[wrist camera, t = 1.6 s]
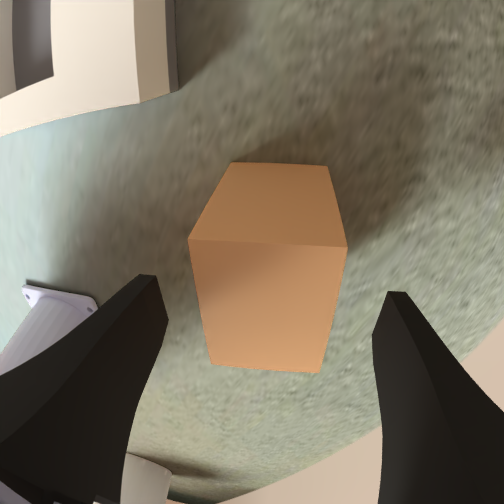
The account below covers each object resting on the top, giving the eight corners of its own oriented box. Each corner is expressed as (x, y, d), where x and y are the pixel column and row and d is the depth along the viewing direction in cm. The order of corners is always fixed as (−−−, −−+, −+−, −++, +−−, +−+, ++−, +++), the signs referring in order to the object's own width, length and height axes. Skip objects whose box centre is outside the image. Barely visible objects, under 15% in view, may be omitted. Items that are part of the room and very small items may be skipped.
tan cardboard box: (316, 270, 15) (319, 372, 10) (237, 266, 16) (211, 364, 11) (327, 165, 12) (348, 247, 7) (231, 162, 13) (187, 238, 8)
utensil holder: (101, 441, 46) (76, 512, 32) (172, 465, 46) (152, 542, 32) (117, 459, 55) (98, 518, 41) (176, 478, 55) (161, 540, 40)
